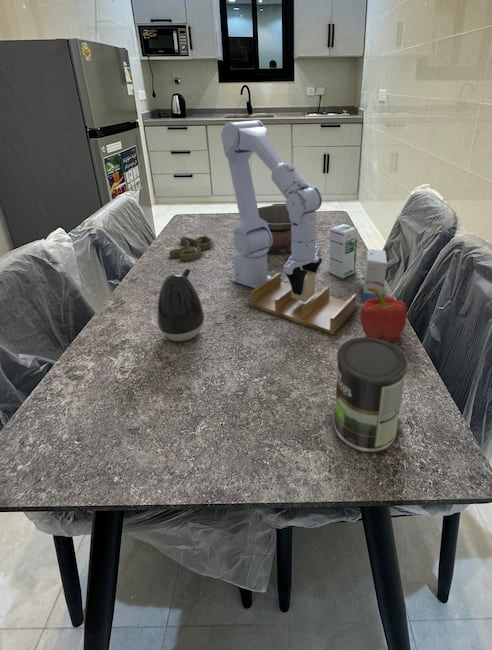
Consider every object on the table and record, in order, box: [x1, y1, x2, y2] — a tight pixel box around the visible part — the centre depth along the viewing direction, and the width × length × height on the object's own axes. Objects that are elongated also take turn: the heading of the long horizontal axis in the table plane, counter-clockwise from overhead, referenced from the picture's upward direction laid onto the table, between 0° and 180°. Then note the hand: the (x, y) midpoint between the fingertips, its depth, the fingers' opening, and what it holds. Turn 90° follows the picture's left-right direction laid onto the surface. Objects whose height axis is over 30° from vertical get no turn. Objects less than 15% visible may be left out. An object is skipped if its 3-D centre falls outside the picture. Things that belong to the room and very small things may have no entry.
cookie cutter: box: [169, 235, 213, 261], centre depth 134 cm, size 18×12×2 cm, turn 175°
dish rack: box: [248, 272, 358, 336], centre depth 97 cm, size 24×14×4 cm, turn 56°
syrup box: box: [328, 223, 358, 279], centre depth 113 cm, size 6×6×14 cm
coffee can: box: [333, 336, 408, 453], centre depth 61 cm, size 10×10×14 cm
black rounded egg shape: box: [156, 268, 205, 342], centre depth 85 cm, size 10×10×15 cm
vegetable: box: [359, 287, 408, 343], centre depth 85 cm, size 11×10×10 cm
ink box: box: [363, 248, 388, 303], centre depth 101 cm, size 9×5×12 cm, turn 168°
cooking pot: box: [250, 203, 291, 255], centre depth 137 cm, size 30×22×11 cm
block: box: [291, 268, 316, 302], centre depth 96 cm, size 4×5×6 cm
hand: (302, 289), depth 96 cm, fingers closed on block, 5 cm apart
